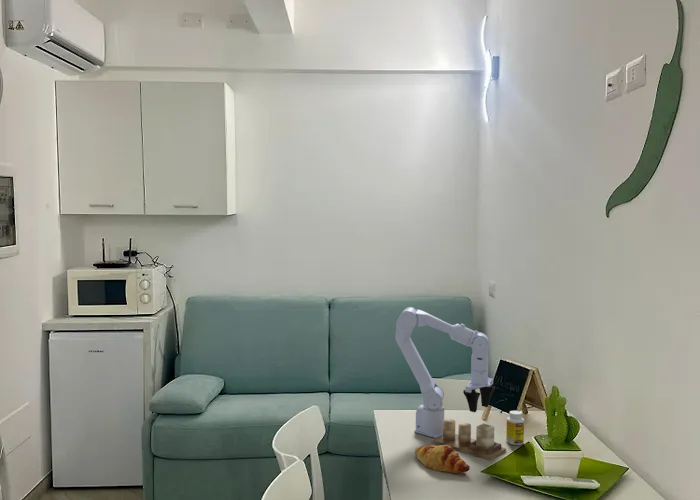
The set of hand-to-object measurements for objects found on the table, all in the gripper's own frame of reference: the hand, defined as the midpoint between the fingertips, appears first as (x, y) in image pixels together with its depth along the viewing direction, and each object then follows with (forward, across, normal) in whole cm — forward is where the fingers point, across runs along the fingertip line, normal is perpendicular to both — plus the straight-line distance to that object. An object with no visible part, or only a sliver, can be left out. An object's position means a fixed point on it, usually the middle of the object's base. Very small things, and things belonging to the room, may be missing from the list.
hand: (479, 409), depth 221 cm
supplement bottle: (+10, +3, -12) cm, 16 cm away
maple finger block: (+8, -11, -9) cm, 16 cm away
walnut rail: (+9, -11, -3) cm, 15 cm away
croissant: (+10, -29, -5) cm, 31 cm away
